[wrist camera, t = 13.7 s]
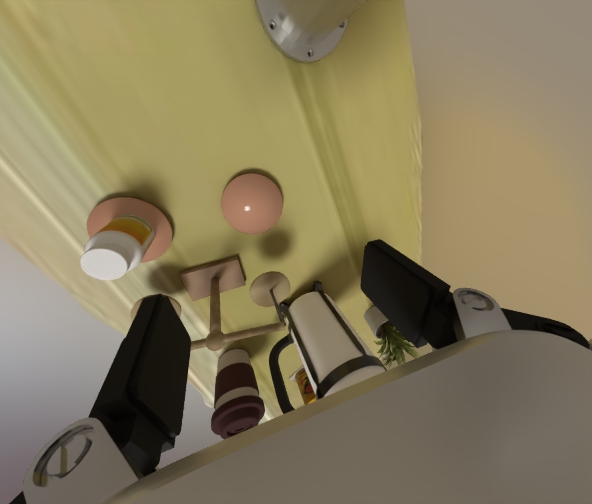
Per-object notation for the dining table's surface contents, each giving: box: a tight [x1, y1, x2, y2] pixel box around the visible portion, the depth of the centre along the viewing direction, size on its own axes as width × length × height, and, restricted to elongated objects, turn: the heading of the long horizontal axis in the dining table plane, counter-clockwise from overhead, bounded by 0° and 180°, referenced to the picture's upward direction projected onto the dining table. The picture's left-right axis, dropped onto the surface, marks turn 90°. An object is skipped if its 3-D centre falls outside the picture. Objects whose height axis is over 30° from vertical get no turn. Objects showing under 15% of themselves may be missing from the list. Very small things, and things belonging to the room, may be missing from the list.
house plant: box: [364, 306, 421, 370], centre depth 54 cm, size 14×14×16 cm
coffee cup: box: [211, 349, 265, 439], centre depth 45 cm, size 10×10×15 cm
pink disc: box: [222, 173, 283, 234], centre depth 35 cm, size 10×10×1 cm
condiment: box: [289, 366, 316, 405], centre depth 59 cm, size 7×8×12 cm
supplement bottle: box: [80, 215, 154, 280], centre depth 26 cm, size 5×5×10 cm
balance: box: [131, 257, 290, 351], centre depth 32 cm, size 24×7×17 cm, turn 97°
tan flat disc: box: [87, 197, 173, 263], centre depth 31 cm, size 10×10×1 cm
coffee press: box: [269, 281, 387, 414], centre depth 39 cm, size 17×16×30 cm
